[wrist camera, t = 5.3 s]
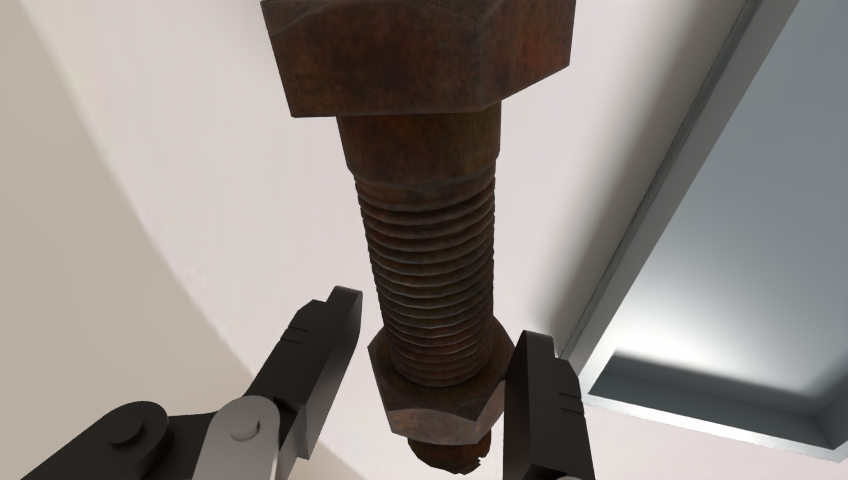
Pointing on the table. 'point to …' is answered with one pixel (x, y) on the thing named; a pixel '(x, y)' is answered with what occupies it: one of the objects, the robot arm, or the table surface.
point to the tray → (740, 251)
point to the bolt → (425, 183)
